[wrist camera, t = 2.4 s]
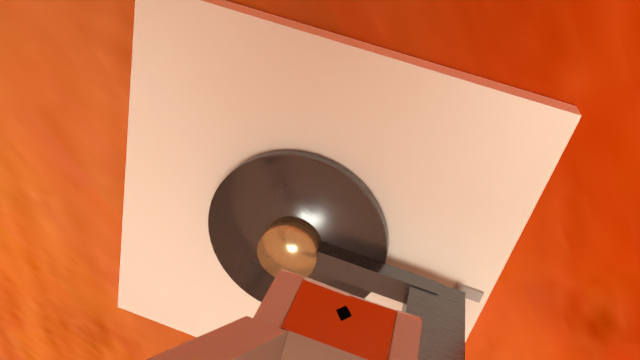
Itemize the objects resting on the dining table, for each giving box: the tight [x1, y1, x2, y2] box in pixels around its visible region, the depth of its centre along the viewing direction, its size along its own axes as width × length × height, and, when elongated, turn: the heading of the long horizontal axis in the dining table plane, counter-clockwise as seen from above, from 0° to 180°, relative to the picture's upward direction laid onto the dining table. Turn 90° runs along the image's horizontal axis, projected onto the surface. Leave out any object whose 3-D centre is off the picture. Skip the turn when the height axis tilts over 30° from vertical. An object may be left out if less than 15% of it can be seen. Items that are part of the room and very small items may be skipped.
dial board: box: [118, 0, 582, 342], centre depth 42 cm, size 30×30×2 cm
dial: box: [208, 150, 465, 360], centre depth 35 cm, size 20×14×13 cm
